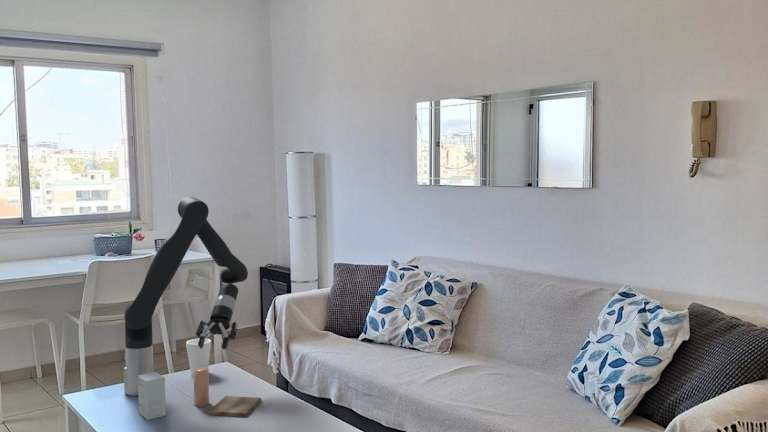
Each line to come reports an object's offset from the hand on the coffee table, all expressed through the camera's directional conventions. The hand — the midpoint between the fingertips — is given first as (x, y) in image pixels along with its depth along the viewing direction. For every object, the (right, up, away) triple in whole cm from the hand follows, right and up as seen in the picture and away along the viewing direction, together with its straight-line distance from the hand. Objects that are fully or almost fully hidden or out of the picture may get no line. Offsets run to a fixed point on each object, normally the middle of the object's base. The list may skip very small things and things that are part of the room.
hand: (211, 348), depth 240 cm
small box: (-15, -19, -18) cm, 30 cm away
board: (+11, -18, -12) cm, 24 cm away
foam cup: (-12, -15, +26) cm, 32 cm away
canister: (-1, -18, -8) cm, 20 cm away
